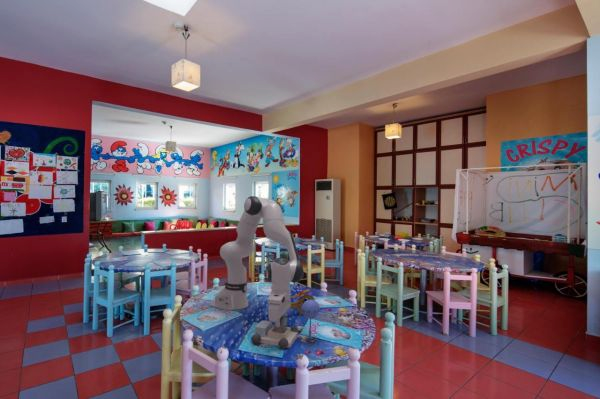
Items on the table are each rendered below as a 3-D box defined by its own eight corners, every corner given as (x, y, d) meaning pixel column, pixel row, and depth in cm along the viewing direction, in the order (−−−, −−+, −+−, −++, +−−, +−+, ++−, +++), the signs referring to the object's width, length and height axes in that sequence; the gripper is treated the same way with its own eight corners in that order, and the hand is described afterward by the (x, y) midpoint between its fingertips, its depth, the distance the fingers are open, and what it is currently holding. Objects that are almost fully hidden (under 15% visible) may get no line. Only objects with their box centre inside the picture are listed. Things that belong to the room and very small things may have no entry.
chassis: (249, 343, 140) (250, 330, 140) (264, 329, 155) (264, 317, 155) (287, 350, 135) (288, 336, 135) (298, 334, 150) (299, 322, 150)
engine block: (273, 328, 143) (273, 315, 143) (276, 325, 147) (277, 312, 147) (284, 330, 142) (284, 317, 142) (286, 326, 146) (287, 314, 145)
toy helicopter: (317, 313, 177) (318, 289, 177) (285, 320, 167) (286, 295, 166) (309, 309, 184) (310, 286, 184) (278, 315, 174) (279, 290, 173)
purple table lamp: (299, 334, 150) (300, 297, 150) (317, 334, 151) (318, 297, 151) (301, 342, 142) (302, 303, 141) (320, 342, 142) (321, 303, 142)
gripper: (282, 287, 155) (281, 315, 155) (265, 300, 136) (265, 332, 136) (294, 288, 153) (293, 316, 153) (279, 301, 134) (279, 334, 134)
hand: (280, 324), depth 144 cm, fingers closed on engine block, 4 cm apart
